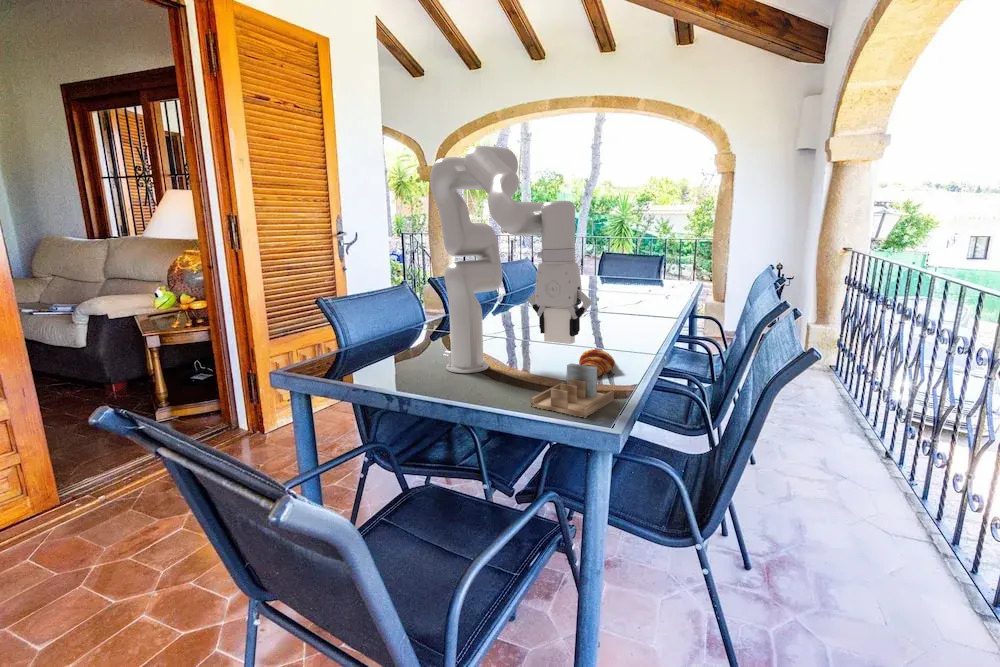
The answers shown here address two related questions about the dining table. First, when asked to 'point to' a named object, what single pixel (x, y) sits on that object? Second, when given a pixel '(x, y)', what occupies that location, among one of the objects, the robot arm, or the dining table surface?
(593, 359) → the croissant
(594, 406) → the dish rack
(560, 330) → the low beige gift box
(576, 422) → the dining table surface
